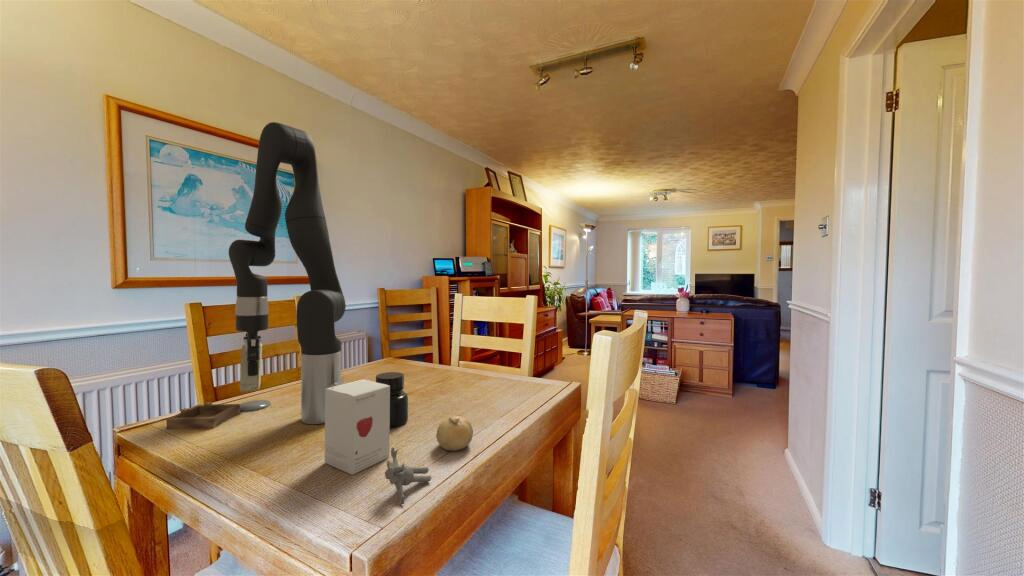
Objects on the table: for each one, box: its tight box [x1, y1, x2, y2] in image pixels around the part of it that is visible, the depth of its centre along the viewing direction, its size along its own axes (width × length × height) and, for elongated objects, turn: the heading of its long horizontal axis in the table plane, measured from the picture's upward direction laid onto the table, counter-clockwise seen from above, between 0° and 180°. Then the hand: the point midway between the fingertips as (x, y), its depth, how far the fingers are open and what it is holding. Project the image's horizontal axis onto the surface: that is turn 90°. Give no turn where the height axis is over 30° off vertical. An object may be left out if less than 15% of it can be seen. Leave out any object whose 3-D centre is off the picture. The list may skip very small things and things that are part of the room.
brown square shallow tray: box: [165, 401, 241, 430], centre depth 97 cm, size 10×10×3 cm
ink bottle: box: [375, 371, 409, 429], centre depth 97 cm, size 10×9×12 cm
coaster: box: [239, 399, 271, 413], centre depth 107 cm, size 8×8×1 cm
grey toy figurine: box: [384, 446, 433, 505], centre depth 67 cm, size 10×6×9 cm
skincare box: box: [239, 343, 263, 392], centre depth 107 cm, size 6×4×12 cm
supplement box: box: [324, 378, 391, 476], centre depth 77 cm, size 9×9×15 cm
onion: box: [435, 415, 474, 451], centre depth 84 cm, size 8×8×7 cm
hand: (252, 372), depth 107 cm, fingers closed on skincare box, 6 cm apart
